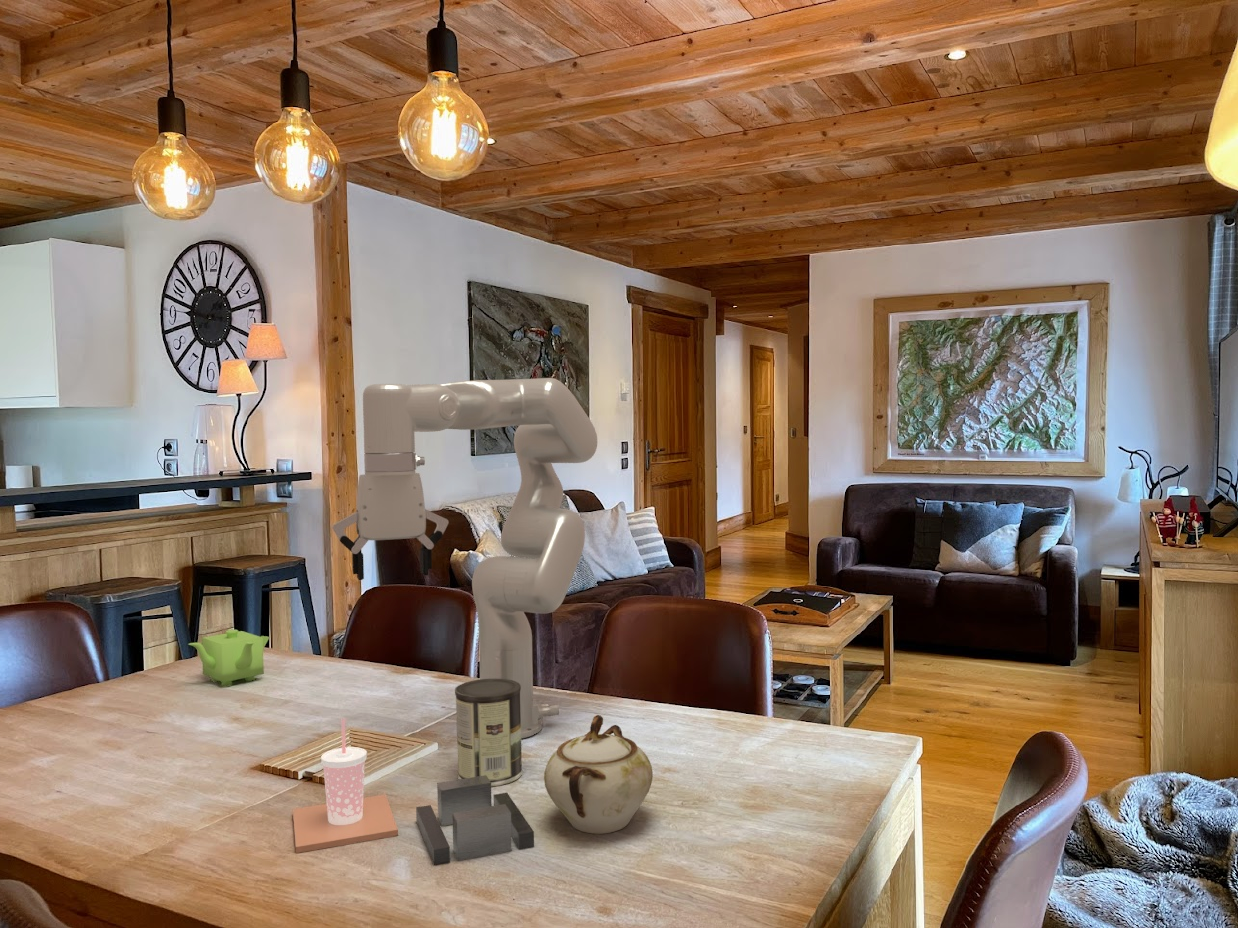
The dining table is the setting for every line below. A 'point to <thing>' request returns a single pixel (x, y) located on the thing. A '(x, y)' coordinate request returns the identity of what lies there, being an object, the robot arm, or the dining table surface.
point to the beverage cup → (344, 782)
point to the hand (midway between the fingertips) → (392, 576)
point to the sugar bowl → (598, 779)
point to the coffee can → (489, 730)
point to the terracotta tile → (321, 834)
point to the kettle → (232, 656)
